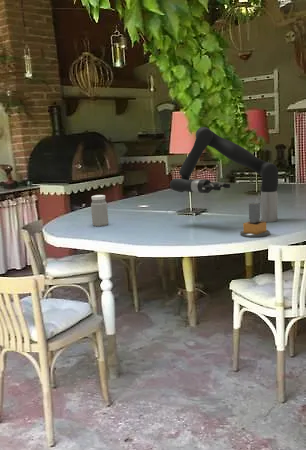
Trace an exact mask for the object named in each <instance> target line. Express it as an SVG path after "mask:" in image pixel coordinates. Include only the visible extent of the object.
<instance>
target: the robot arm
mask: <svg viewBox="0 0 306 450" xmlns="http://www.w3.org/2000/svg"><path fill="white" fill-rule="evenodd" d="M207 146H209V147H210V148H213V149H215V150H216V151H217V152H219V153H220V154H222V156H224V157H226V158H227V159H228V160H229V161H232V162H234V163H236V164H238V165H241V166H243V167H245V168H248V169H251V171H253V172H255V173H256V174H257V175H259V176H260V177H261V186H260V219H261V221H262V222H266V223H273V222H278V215H279V213H278V212H279V211H278V187H279V186H278V185H279V169H278V166H277V165H276V164H274V163H271V162H268V161H265V160H263V159H261V158H258V157H257V156H255V155H254V154H253V153H252V152H251V151H249V150H247V149H246V148H245V147H242V146H241V145H239V144H237V143H235V142H233V141H231V140H228V139H226V138H223V137H221V136H219V135H218V134H216V133H215V132H214V131H212V130H211V129H210V127H209V128H208V127H206V126H201V127H199V128H198V129H197V130H196V132H195V141H194V143H193V145H192V148H191V150H190V151H189V153H188V155H187V156H186V158H185V159H184V160H183V163H182V165H181V167H180V169H179V171H178V174H179V175H180V176H181V177H180V178H178V177H177V178H172V180H170V182H169V187H170V189H171V190H173V191H175V192H179V193H184V192H187V193H188V192H189V193H196V194H209V193H210V192H213V191H221V189H231V184H230V183H226V182H218V181H217V182H212V181H211V180H210V179H202V178H201V179H200V178H199V179H191V175H192V174H193V172H194V170H195V168H196V166H197V164H198V162H199V160H200V158H201V156H202V154H203V153H204V151H206V148H207Z"/></svg>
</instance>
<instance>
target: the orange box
mask: <svg viewBox="0 0 306 450" xmlns="http://www.w3.org/2000/svg"><path fill="white" fill-rule="evenodd" d="M259 222H260V223H259V224H250V220H249V221H246V222H243V224H242V225H243V230H241V231H240V236H241V237H244V238H250V239H251V238H253V239H255V238H265V237H269V236H270V235H271V232H270V230H268V229H267V222H264V221H260V220H259Z"/></svg>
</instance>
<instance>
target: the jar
mask: <svg viewBox="0 0 306 450" xmlns="http://www.w3.org/2000/svg"><path fill="white" fill-rule="evenodd" d="M90 198H91V203H90V208H91V209H90V210H91V211H90V212H91V222H92V225H93V226H94V227H105V226H107V225H108V224H109V214H108V203H107V199H106V195H105V194H95V195H92V196H91V197H90Z"/></svg>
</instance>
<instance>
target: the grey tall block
mask: <svg viewBox="0 0 306 450" xmlns="http://www.w3.org/2000/svg"><path fill="white" fill-rule="evenodd" d="M248 219H249V221H250V224H259V223H260V222H259V221H260V219H261V202H251V203H248Z"/></svg>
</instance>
